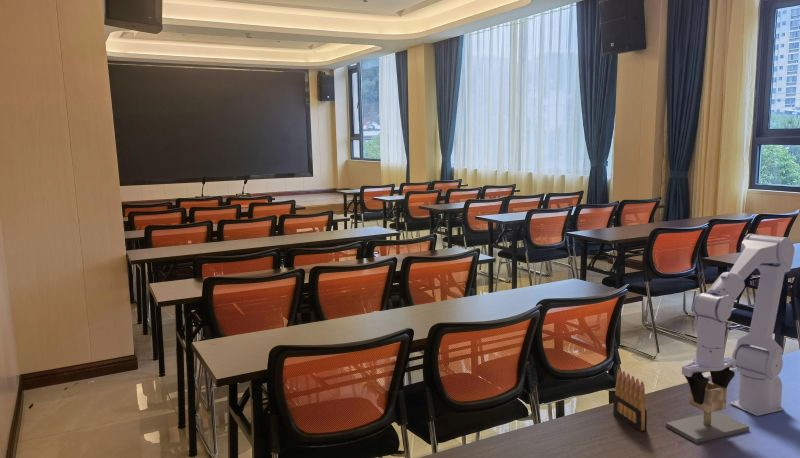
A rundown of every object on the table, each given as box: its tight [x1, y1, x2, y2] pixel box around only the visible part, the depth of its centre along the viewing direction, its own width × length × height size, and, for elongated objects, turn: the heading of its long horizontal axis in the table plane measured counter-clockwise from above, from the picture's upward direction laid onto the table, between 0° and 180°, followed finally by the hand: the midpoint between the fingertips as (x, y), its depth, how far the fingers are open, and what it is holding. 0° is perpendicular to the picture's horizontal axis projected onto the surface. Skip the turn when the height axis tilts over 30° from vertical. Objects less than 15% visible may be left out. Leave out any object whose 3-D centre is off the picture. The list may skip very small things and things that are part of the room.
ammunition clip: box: [612, 368, 648, 432], centre depth 145 cm, size 11×2×12 cm, turn 15°
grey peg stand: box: [665, 411, 750, 444], centre depth 141 cm, size 16×9×6 cm, turn 110°
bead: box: [688, 380, 728, 413], centre depth 140 cm, size 5×5×5 cm
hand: (708, 400), depth 140 cm, fingers closed on bead, 5 cm apart
